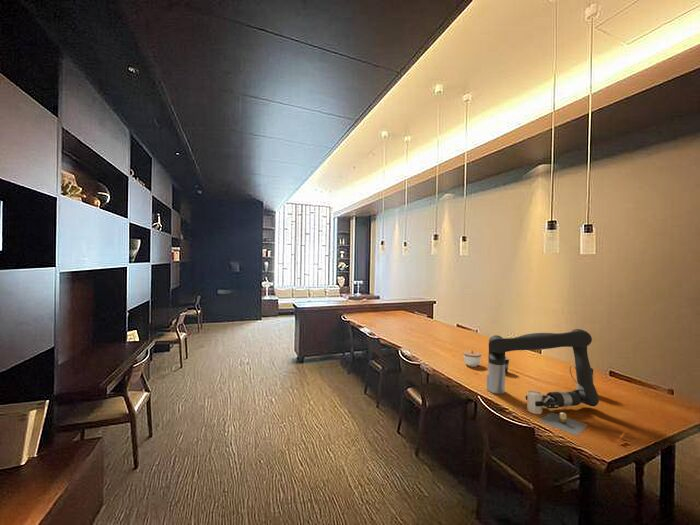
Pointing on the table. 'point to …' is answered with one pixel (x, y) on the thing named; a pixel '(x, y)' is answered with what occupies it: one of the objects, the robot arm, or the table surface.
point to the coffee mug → (506, 364)
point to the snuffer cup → (531, 399)
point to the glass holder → (575, 381)
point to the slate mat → (570, 424)
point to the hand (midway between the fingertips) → (530, 400)
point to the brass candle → (563, 418)
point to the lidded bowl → (472, 358)
